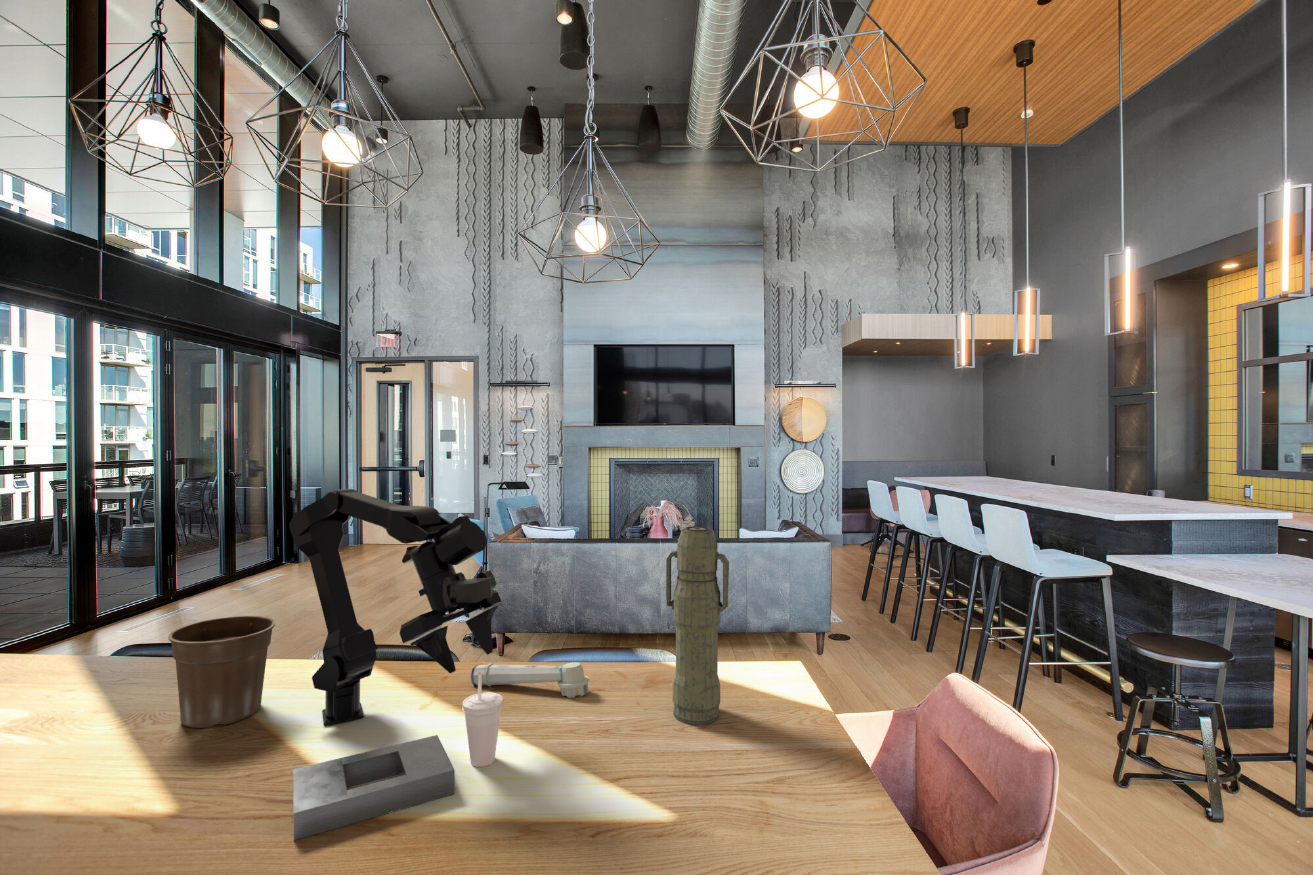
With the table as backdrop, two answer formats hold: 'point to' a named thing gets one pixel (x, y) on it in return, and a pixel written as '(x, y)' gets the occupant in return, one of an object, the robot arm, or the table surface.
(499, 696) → the smoothie
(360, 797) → the block
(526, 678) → the toothbrush head
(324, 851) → the table surface
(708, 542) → the thermos
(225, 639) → the plant pot
